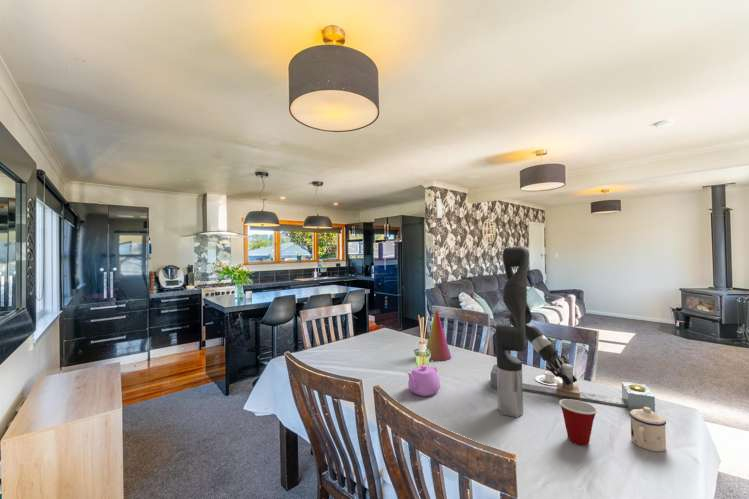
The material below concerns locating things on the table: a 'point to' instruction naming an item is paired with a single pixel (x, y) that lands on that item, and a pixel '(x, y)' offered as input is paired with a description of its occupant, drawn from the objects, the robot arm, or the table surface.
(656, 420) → the teacup with lid
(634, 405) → the rail
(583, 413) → the plastic cup
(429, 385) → the teapot
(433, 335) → the decorative cone
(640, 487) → the table surface
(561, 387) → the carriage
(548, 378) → the candle holder
